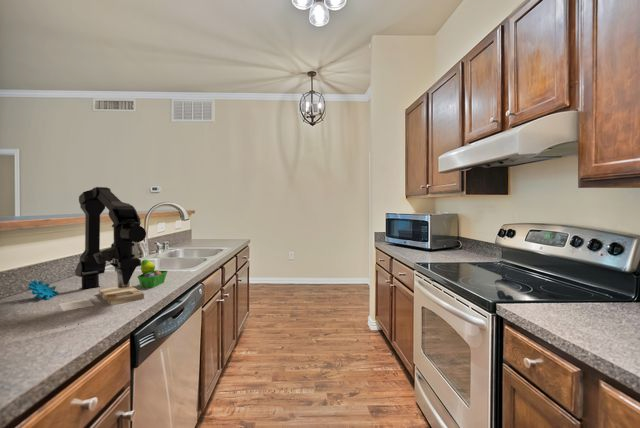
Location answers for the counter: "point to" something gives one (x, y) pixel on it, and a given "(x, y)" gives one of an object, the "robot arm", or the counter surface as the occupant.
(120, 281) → the peg
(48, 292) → the blue spiky lump
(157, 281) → the fruit basket
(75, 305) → the tab
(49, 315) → the counter surface
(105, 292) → the rail plate
